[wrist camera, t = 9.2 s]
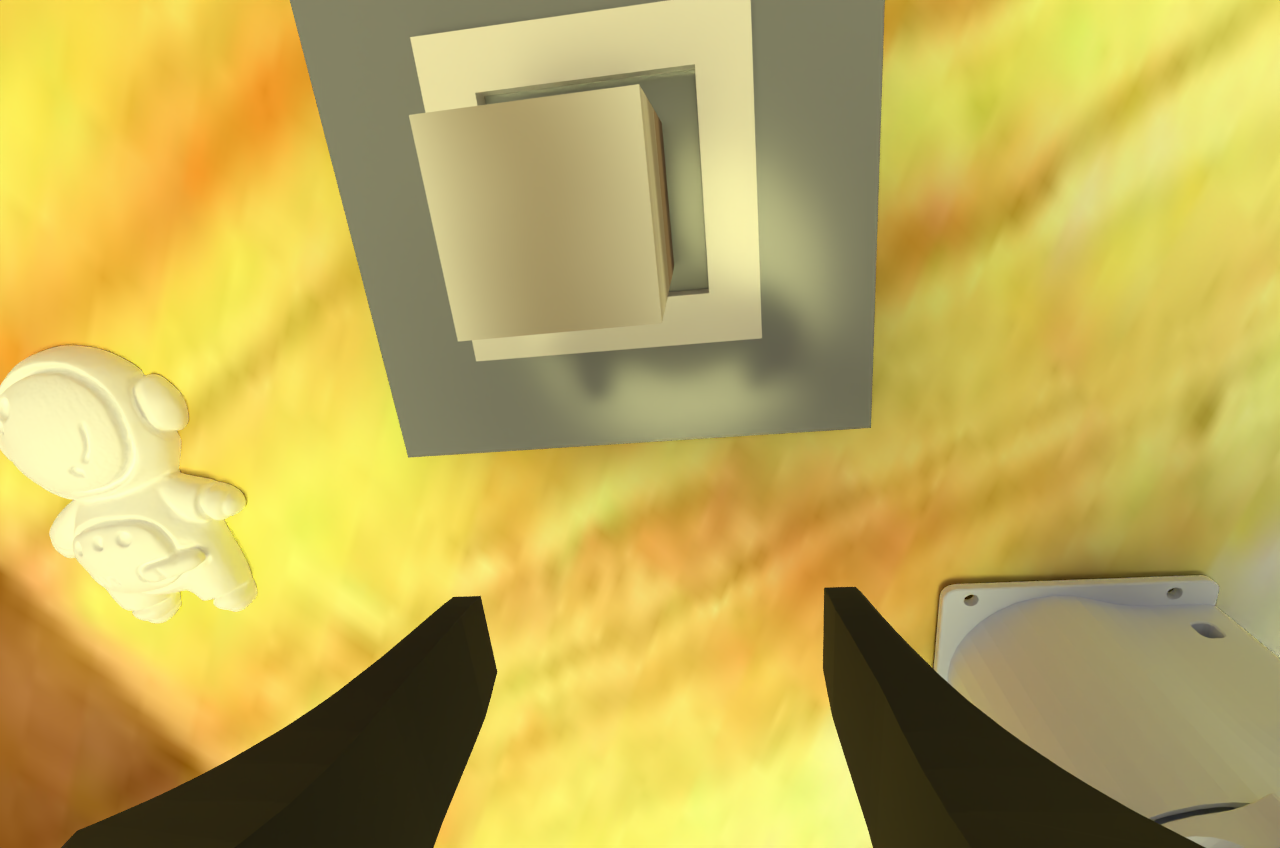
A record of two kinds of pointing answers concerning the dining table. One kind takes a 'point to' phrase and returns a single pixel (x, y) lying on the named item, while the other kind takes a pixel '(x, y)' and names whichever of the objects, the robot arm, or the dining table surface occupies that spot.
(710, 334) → the slate plate
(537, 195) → the block stack
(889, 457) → the dining table surface
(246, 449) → the dining table surface
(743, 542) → the dining table surface
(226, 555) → the astronaut figurine
